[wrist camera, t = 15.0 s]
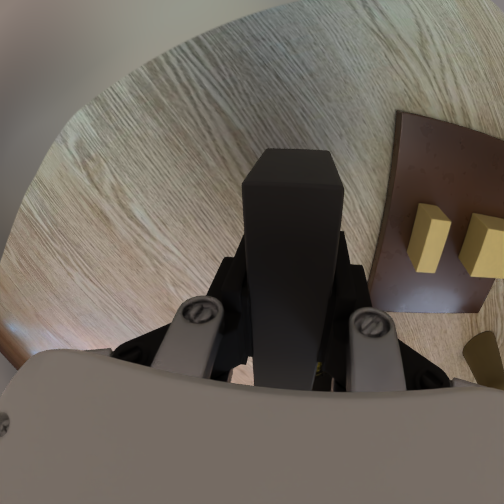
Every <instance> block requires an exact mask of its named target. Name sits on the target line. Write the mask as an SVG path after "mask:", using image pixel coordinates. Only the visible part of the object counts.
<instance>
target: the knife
mask: <svg viewBox="0 0 504 504" xmlns="http://www.w3.org/2000/svg"><path fill="white" fill-rule="evenodd" d="M343 199H344V187H343V184H342V182H341V179H340V176H339V174H338V171H337V169H336V166H335V164H334V161H333V159H332V156H331V154H330V151H327V150H309V149H275V148H268V149H266V150H265V151H264V153H263V154H262V155H261V157H260V158H259V160H258V161H257V162H256V164H255V165H254V167H253V168H252V170H251V171H250V172H249V174H248V175H247V177H246V178H245V180H244V181H243V183H242V201H243V218H244V234H245V251H246V267H247V283H248V292H249V303H250V319H251V335H252V351H253V357H252V359H253V373H254V386H258V387H267V388H277V389H289V390H302V391H312V387H313V383H314V379H315V374H316V370H317V366H318V362H317V358H318V353H319V348H320V343H321V338H322V333H323V328H324V322H325V317H326V311H327V305H328V299H330V297H331V293H332V287H333V281H334V274H335V267H336V260H337V253H338V245H339V237H340V228H341V219H342V209H343Z"/></svg>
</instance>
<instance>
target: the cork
mask: <svg viewBox="0 0 504 504" xmlns="http://www.w3.org/2000/svg"><path fill="white" fill-rule="evenodd" d="M463 356H464V358H465V360H466V362H467V363H468V365H469V367H470V369H471V371H472V373H473V375H474V377H475V379H476V382H477V384H479V385H482V386H486V387H490V388H495V389H499V390H503V391H504V369H503V365H502V361H501V357H500V353H499V349H498V345H497V342H496V338H495V335H494V333H493V332H490V331H487V332H483V333H481V334H479V335H477V336H475V337H474V338H473V339H471V340H470V341H469V342H468V343H467V344H466V346H465V347H464V349H463Z"/></svg>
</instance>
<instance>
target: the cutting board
mask: <svg viewBox="0 0 504 504" xmlns="http://www.w3.org/2000/svg"><path fill="white" fill-rule="evenodd" d="M419 203H422V204H429V205H435V206H438V207H439V208H440V209H441V210H442V212H443V213H444V214H445V215H446V216H447V217H448V218H449V219H450V221H451V226H450V229H449V232H448V236H447V239H446V242H445V245H444V248H443V251H442V254H441V257H440V260H439V263H438V266H437V269H436V271H435V273H423V272H416V271H415V269H414V266H413V264H412V262H411V260H410V258H409V256H408V254H407V249H408V246H409V242H410V238H411V234H412V230H413V226H414V222H415V218H416V214H417V209H418V205H419ZM472 213H477V214H482V215H487V216H492V217H497V218H501V219H504V141H503V140H500V139H498V138H495V137H492V136H490V135H487V134H484V133H481V132H478V131H475V130H472V129H469V128H466V127H462V126H459V125H456V124H452V123H448V122H445V121H441V120H437V119H433V118H429V117H425V116H421V115H416V114H412V113H407V112H402V111H397V114H396V127H395V138H394V148H393V156H392V164H391V172H390V179H389V185H388V192H387V198H386V203H385V209H384V214H383V220H382V225H381V230H380V234H379V239H378V244H377V248H376V252H375V257H374V261H373V265H372V269H371V273H370V277H369V281H368V284H367V285H368V289H369V294H370V298H371V303H372V308H377V309H380V310H383V311H384V312H410V313H478V312H479V311H480V309H481V307H482V305H483V303H484V301H485V299H486V297H487V295H488V293H489V291H490V289H491V287H492V285H493V283H494V281H495V278H486V277H471V276H470V275H469V273H468V272H467V270H466V269H465V267H464V266H463V264H462V263H461V261H460V260H459V258H458V257H459V254H460V251H461V249H462V246H463V243H464V240H465V237H466V234H467V230H468V227H469V224H470V220H471V217H472Z"/></svg>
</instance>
